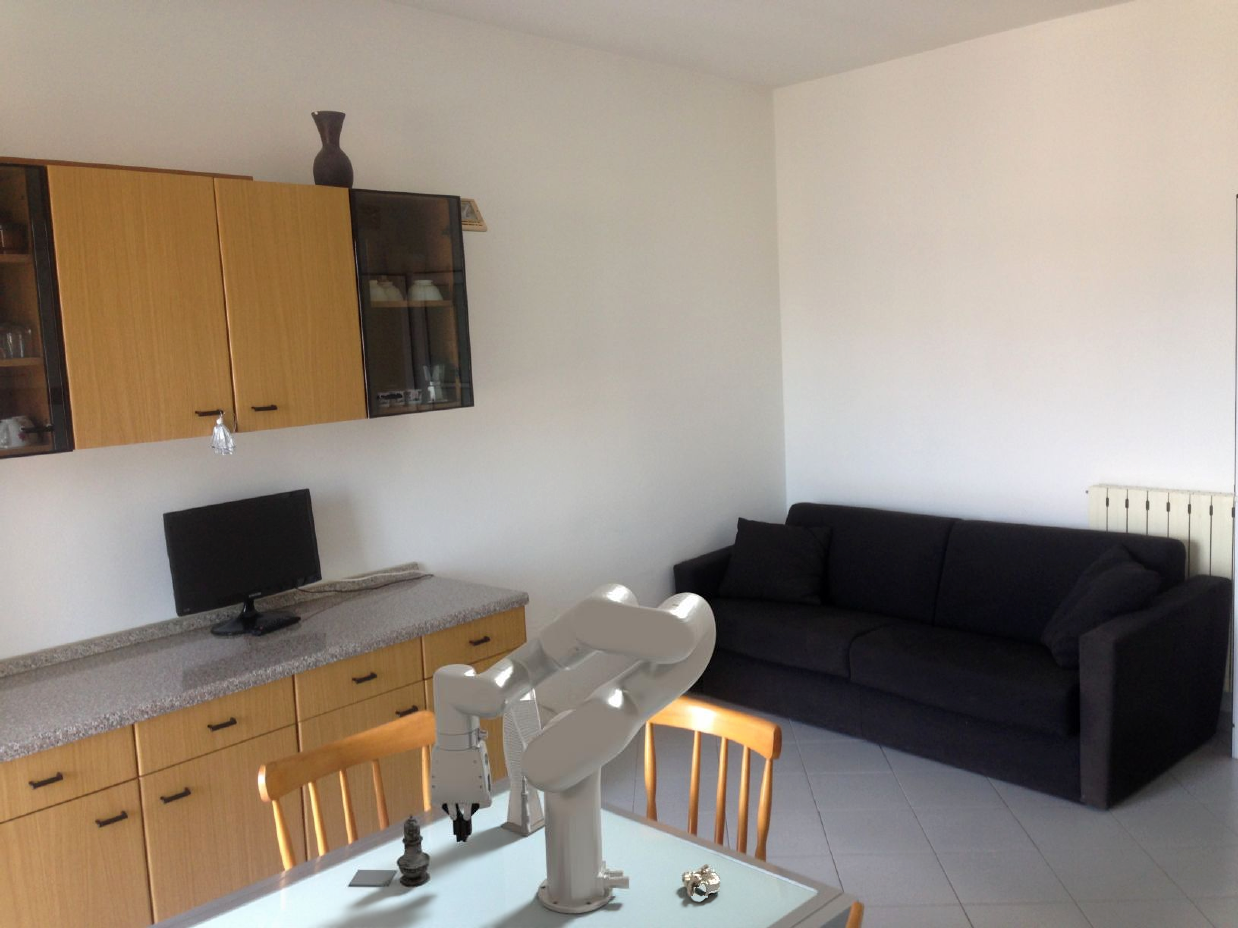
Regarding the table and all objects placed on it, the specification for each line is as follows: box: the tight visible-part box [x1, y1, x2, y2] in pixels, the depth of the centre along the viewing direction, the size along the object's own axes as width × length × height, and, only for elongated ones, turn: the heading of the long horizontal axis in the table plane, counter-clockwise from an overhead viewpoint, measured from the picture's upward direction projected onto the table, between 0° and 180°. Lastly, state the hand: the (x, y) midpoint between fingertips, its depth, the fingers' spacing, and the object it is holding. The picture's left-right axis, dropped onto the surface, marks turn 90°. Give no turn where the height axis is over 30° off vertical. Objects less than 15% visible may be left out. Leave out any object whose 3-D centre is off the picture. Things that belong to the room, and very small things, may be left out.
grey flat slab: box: [348, 869, 398, 887], centre depth 182 cm, size 7×5×1 cm
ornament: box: [681, 863, 721, 897], centre depth 175 cm, size 8×7×4 cm
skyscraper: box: [499, 689, 545, 838], centre depth 200 cm, size 8×8×28 cm
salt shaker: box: [396, 813, 431, 888], centre depth 181 cm, size 6×6×12 cm
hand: (463, 838), depth 180 cm, fingers closed
